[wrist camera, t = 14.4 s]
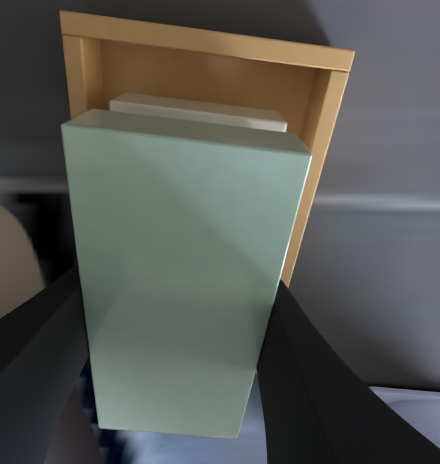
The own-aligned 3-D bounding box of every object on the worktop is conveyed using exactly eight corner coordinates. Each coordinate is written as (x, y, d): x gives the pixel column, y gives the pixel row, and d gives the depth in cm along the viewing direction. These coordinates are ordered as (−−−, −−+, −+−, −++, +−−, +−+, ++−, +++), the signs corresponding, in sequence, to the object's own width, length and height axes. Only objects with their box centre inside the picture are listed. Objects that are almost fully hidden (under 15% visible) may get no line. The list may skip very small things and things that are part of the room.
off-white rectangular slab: (234, 316, 18) (235, 367, 15) (138, 307, 18) (121, 357, 15) (274, 104, 12) (288, 122, 10) (135, 86, 12) (108, 100, 9)
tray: (259, 340, 19) (263, 374, 17) (110, 326, 19) (96, 359, 17) (334, 48, 12) (356, 50, 10) (87, 15, 11) (57, 9, 9)
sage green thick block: (235, 366, 15) (238, 439, 12) (122, 356, 15) (98, 429, 12) (288, 121, 10) (313, 154, 7) (108, 98, 9) (58, 123, 7)
